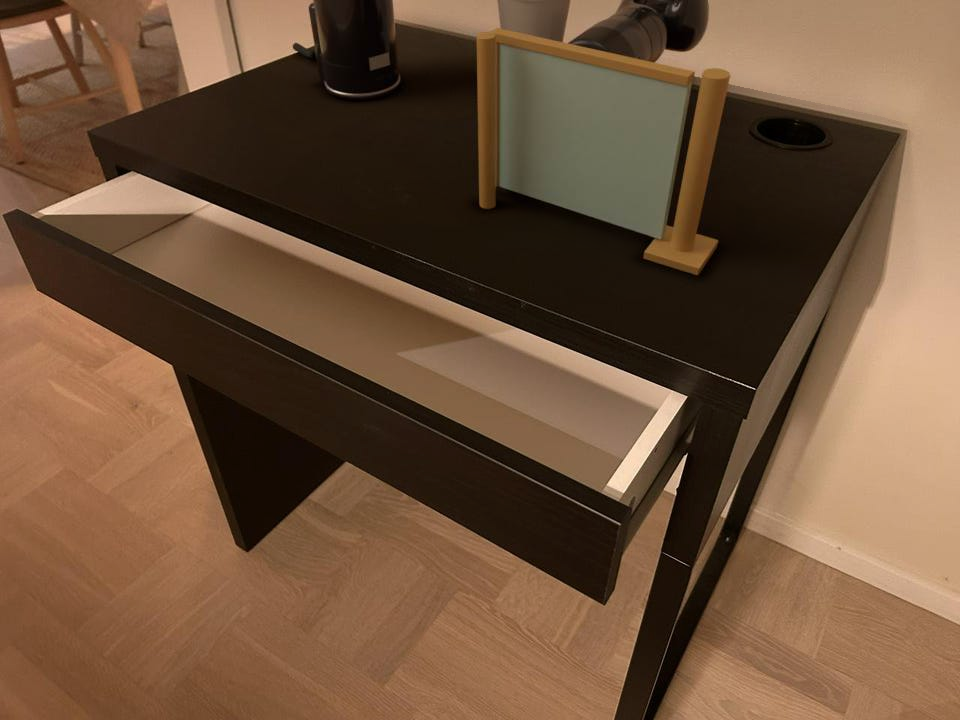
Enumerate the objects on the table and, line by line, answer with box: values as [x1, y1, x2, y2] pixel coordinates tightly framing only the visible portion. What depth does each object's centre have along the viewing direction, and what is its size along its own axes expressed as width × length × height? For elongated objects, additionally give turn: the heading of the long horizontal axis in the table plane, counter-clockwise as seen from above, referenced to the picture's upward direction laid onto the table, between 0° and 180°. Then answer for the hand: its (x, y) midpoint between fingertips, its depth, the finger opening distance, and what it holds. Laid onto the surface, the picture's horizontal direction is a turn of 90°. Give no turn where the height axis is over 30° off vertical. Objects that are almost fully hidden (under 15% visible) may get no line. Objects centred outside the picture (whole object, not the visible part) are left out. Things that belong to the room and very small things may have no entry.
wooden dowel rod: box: [476, 31, 497, 210], centre depth 67 cm, size 2×2×16 cm
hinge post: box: [642, 67, 731, 276], centre depth 61 cm, size 5×5×16 cm
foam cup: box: [497, 0, 571, 43], centre depth 91 cm, size 10×9×13 cm
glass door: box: [490, 27, 695, 240], centre depth 65 cm, size 18×1×15 cm, turn 56°
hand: (523, 125), depth 68 cm, fingers closed
